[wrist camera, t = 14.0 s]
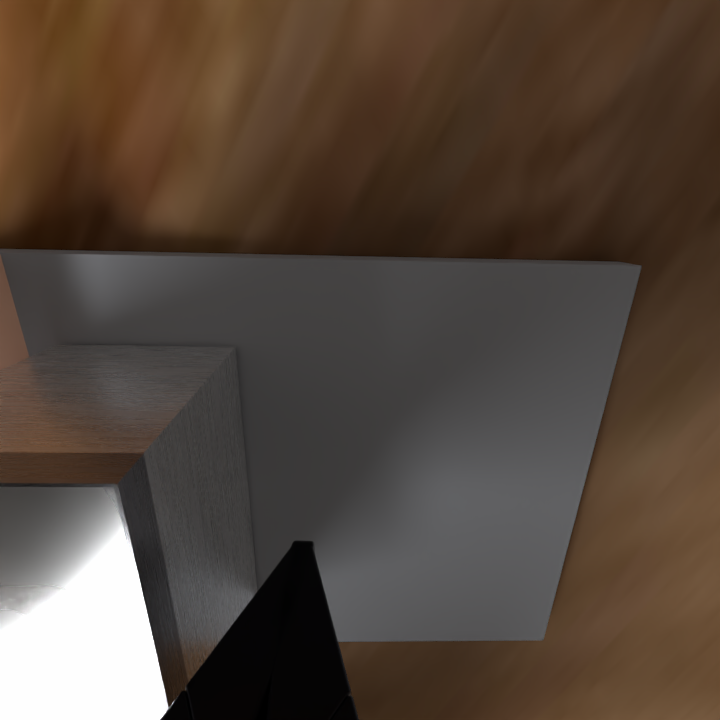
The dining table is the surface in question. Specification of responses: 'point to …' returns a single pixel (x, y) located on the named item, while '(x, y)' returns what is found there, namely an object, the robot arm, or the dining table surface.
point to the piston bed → (377, 410)
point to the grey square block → (118, 527)
